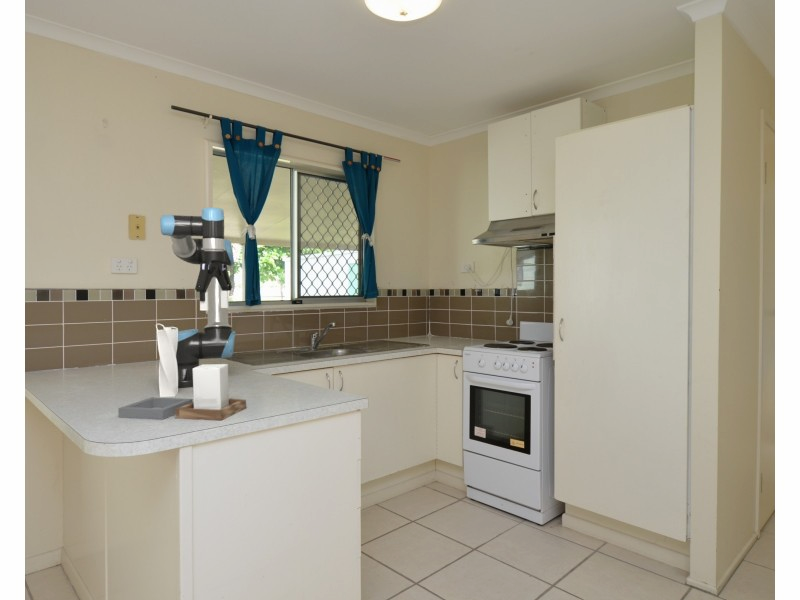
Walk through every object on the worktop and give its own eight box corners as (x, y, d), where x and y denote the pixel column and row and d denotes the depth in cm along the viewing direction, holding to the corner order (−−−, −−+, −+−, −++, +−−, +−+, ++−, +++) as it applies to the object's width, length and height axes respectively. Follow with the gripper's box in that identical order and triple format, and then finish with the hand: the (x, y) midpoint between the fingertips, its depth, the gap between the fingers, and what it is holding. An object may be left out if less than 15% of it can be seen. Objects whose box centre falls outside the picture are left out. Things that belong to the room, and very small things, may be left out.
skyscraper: (155, 398, 191) (153, 324, 190) (158, 394, 198) (157, 322, 198) (177, 396, 193) (176, 323, 192) (180, 392, 201) (179, 322, 200)
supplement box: (229, 407, 173) (229, 363, 172) (221, 413, 164) (220, 367, 163) (203, 407, 173) (202, 363, 172) (192, 414, 164) (191, 368, 163)
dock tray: (203, 406, 178) (203, 397, 177) (246, 408, 174) (245, 399, 174) (175, 418, 162) (175, 409, 162) (221, 420, 159) (220, 411, 159)
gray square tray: (151, 405, 179) (151, 397, 179) (192, 407, 176) (192, 398, 176) (118, 417, 164) (118, 408, 163) (162, 419, 160) (162, 410, 160)
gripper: (222, 252, 197) (223, 306, 198) (183, 249, 173) (184, 311, 174) (240, 252, 196) (241, 307, 197) (203, 249, 171) (204, 311, 172)
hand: (214, 309), depth 185 cm, fingers open, 13 cm apart
